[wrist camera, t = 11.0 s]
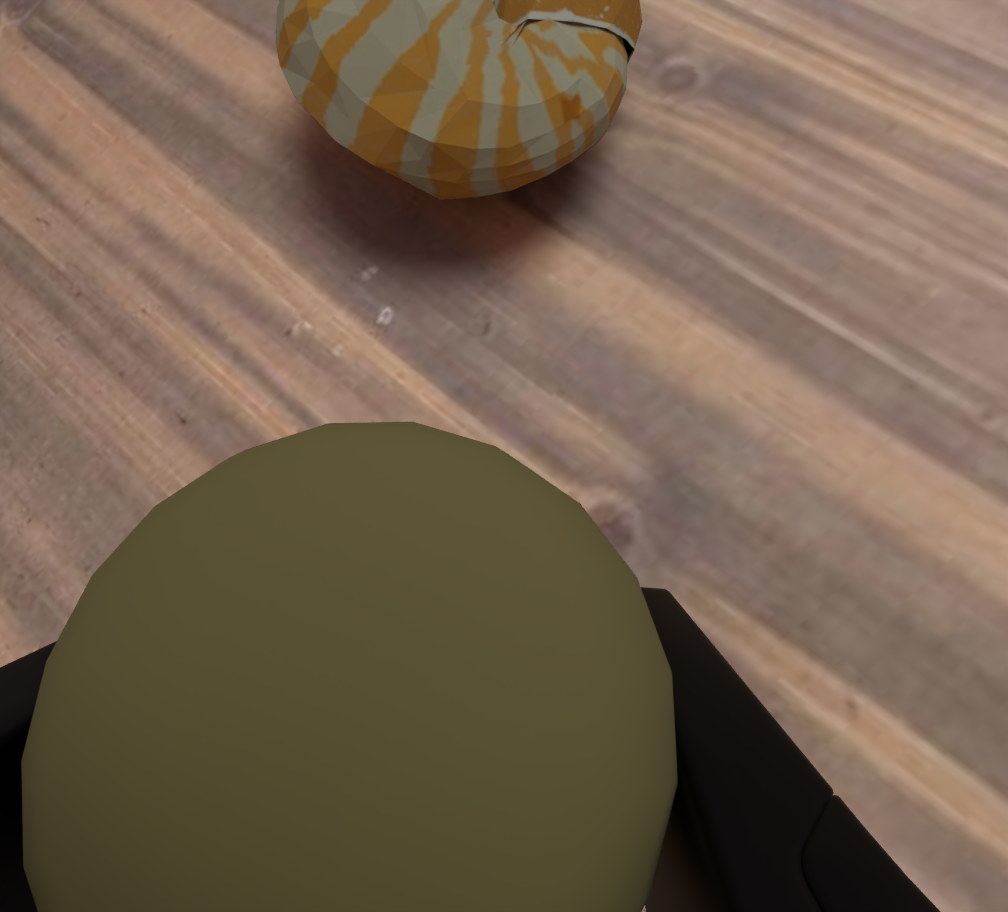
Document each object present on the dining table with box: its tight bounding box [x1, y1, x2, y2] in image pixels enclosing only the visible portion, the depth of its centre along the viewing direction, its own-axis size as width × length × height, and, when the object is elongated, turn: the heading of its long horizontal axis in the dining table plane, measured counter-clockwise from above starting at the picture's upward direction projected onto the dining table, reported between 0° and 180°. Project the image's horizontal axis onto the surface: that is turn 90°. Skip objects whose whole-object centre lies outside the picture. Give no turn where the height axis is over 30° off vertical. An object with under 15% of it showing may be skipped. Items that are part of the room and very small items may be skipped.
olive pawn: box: [21, 422, 678, 912], centre depth 9 cm, size 6×6×11 cm
